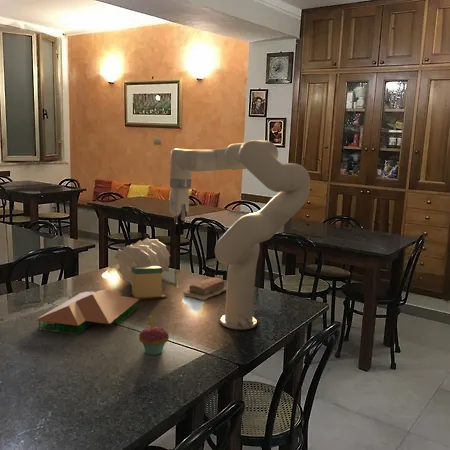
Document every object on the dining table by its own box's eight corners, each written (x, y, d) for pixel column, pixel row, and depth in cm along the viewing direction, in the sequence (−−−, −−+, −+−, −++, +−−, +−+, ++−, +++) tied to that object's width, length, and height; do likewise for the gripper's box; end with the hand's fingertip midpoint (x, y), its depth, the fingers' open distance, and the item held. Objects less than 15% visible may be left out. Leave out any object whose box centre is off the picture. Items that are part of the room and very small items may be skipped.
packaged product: (209, 274, 213) (228, 279, 208) (208, 285, 214) (228, 290, 208) (183, 284, 198) (203, 289, 193) (182, 295, 199) (203, 301, 193)
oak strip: (165, 298, 195) (166, 296, 195) (129, 300, 190) (129, 298, 190) (164, 296, 197) (164, 294, 197) (128, 298, 192) (128, 297, 192)
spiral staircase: (162, 283, 228) (140, 296, 204) (131, 263, 231) (105, 273, 207) (181, 249, 224) (160, 258, 200) (148, 229, 227) (124, 235, 203)
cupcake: (155, 360, 141) (156, 319, 139) (132, 352, 145) (133, 312, 143) (174, 350, 148) (175, 311, 146) (151, 342, 152) (152, 304, 150)
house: (142, 305, 185) (142, 284, 184) (103, 338, 153) (103, 313, 152) (84, 298, 190) (84, 277, 188) (35, 329, 158) (34, 304, 156)
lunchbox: (162, 267, 193) (157, 265, 200) (135, 269, 189) (131, 266, 197) (162, 296, 193) (157, 292, 201) (135, 298, 190) (131, 294, 197)
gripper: (165, 181, 184) (163, 230, 188) (175, 186, 171) (174, 238, 174) (184, 182, 187) (183, 230, 190) (196, 186, 173) (194, 238, 177)
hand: (178, 234), depth 182 cm, fingers closed
